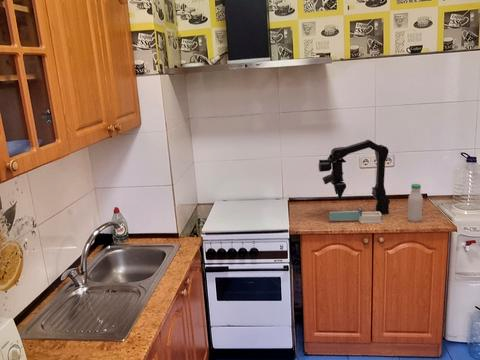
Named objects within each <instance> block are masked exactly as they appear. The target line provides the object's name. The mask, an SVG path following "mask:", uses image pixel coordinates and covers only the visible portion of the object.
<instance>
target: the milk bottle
mask: <svg viewBox="0 0 480 360" xmlns="http://www.w3.org/2000/svg"><path fill="white" fill-rule="evenodd" d="M421 187H422V186H421V184H420V183H412V184H411V186H410V188H411V191H410V194H409V195H408V199H407V220H408V221H409V222H414V223H417V222H419V223H420V222H422V221H423V216H424V215H423V214H424V198H423V195H422V193H421Z"/></svg>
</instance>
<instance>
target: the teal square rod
mask: <svg viewBox="0 0 480 360" xmlns="http://www.w3.org/2000/svg"><path fill="white" fill-rule="evenodd" d="M354 220H355V221H359V211H358V210H346V211H345V210H342V211H341V210H340V211H329V221H354Z"/></svg>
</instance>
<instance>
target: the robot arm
mask: <svg viewBox="0 0 480 360" xmlns="http://www.w3.org/2000/svg"><path fill="white" fill-rule="evenodd" d="M366 149H371V150H373V151H374V153H375V154H374V155H375V158H376V175H375V185H374V187H373V186H372V187H371V190H372V191H371V194H372V196H373V198H374V199H375V201H376V204H375V212H376V211H380V213H381V214H382V215H389V214H390V207H389V205H390V203H391V200H390V199H389V198H388V197H387V194H386V193H387V192H386V188H385V171H386V161H387V159H388V156H389V152H390V151H389V148H388V147H387V146H385V145H383V144H377V143H375V142H374V141H372V140H371V139H366V140H364V141H360V142H356V143H354V144H351V145H348V146H340V147H339V146H338V147H334V148H332V149H331V151H330V155H329V156H328V157H327V159H319V162H318V172H320V173H323V172H330V171H331V173H330V174H328V175H326V176H323V177H322V181H323V183H324V185H328V184H329V183H331V184H332V185H333V188H334V192H335V194H336V195H337V198H338V200H339V199H342V196H343V194H344V191H345V190H346V188H347V184H346V182H344V177H343V175H344V172H343V163H346V162H347V161H346V160H345V159H344V158H345V157H346V156H348V155H350V154H354V153H356V152H359V151H363V150H366Z"/></svg>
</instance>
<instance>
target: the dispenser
mask: <svg viewBox="0 0 480 360" xmlns="http://www.w3.org/2000/svg"><path fill="white" fill-rule="evenodd" d="M357 211H359V220H358V223H359V224H360V223H365V224H383V222H384V221H383V219H384V218H383V217H384V216H383V214H381V213H380V211H376V210H375V211H363V210H362V208H361V206H357Z"/></svg>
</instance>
